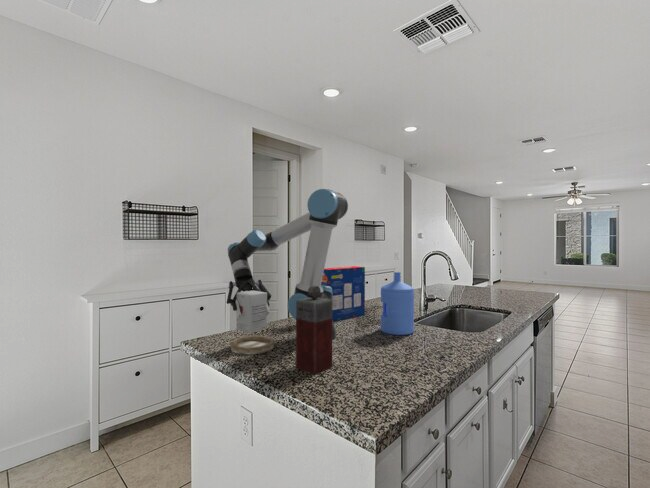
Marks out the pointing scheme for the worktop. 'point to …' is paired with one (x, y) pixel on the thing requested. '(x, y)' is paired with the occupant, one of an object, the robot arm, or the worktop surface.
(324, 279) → the blue toy box
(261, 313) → the supplement box
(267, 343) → the tan plate
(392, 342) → the worktop surface
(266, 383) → the worktop surface
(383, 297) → the water jug
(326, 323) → the red square bottle
